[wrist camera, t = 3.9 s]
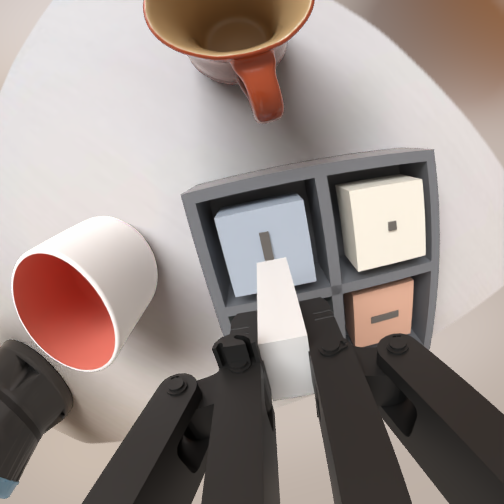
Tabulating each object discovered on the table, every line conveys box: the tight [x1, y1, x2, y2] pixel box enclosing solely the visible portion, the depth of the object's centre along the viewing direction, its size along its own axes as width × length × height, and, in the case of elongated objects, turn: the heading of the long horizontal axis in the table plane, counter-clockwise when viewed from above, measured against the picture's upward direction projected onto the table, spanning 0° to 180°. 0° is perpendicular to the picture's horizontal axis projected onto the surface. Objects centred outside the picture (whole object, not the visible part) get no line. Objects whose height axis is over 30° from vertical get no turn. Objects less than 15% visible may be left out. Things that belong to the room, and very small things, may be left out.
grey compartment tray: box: [181, 148, 440, 350], centre depth 23 cm, size 18×18×5 cm
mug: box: [143, 0, 315, 124], centre depth 15 cm, size 12×9×10 cm
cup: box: [11, 216, 158, 372], centre depth 21 cm, size 10×10×10 cm
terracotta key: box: [343, 277, 414, 347], centre depth 24 cm, size 6×6×4 cm
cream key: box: [335, 174, 426, 272], centre depth 19 cm, size 6×6×4 cm
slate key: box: [214, 192, 316, 297], centre depth 20 cm, size 6×6×4 cm
